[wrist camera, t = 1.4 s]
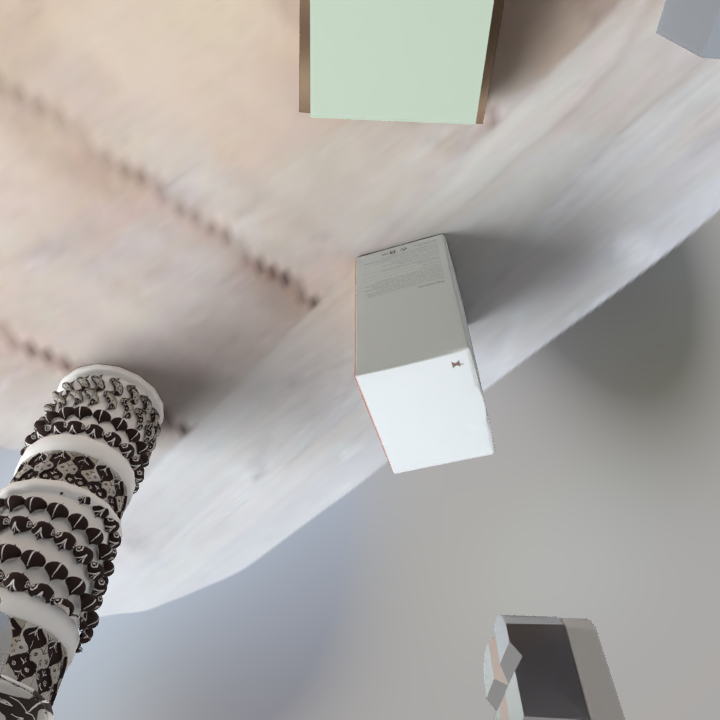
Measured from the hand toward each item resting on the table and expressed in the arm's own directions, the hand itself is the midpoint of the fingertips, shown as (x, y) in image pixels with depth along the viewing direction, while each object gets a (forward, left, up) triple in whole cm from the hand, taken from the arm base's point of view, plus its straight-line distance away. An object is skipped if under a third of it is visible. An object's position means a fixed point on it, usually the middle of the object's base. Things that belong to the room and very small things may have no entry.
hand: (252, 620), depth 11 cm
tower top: (-5, +3, -30) cm, 30 cm away
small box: (+14, +6, -34) cm, 37 cm away
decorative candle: (+25, -17, -34) cm, 45 cm away
